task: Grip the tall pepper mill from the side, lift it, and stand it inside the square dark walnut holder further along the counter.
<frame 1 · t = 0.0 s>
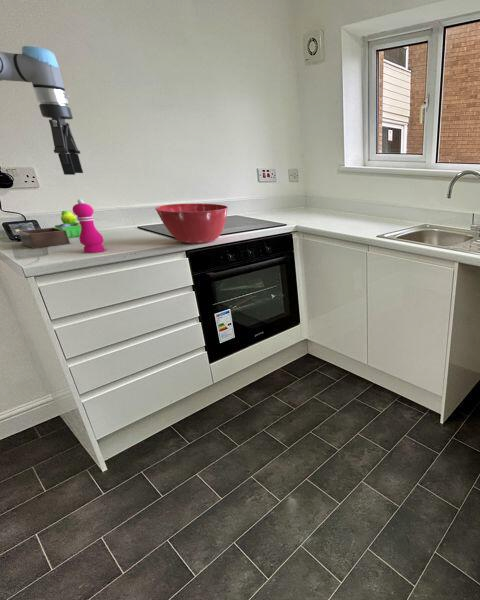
hand: (74, 173, 122), 29 cm above the countertop, tool pointing down, fingers open, 13 cm apart
fruit basket: (75, 235, 164), on the countertop
mixing bowl: (199, 241, 162), on the countertop
holder: (46, 244, 147), on the countertop
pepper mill: (95, 251, 140), on the countertop
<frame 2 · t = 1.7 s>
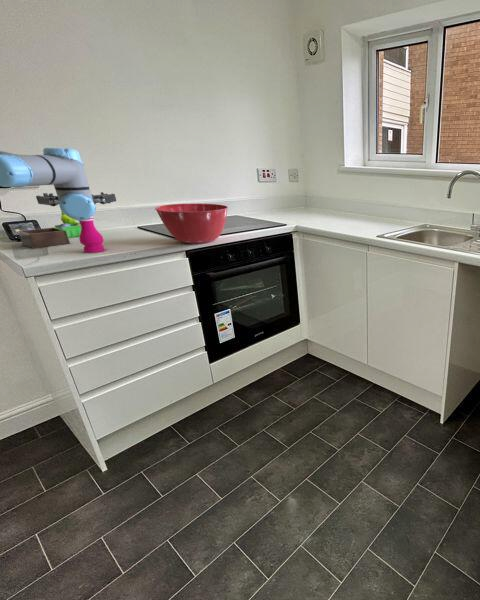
hand: (78, 196, 125), 22 cm above the countertop, tool horizontal, fingers open, 13 cm apart
nothing on the countertop moved.
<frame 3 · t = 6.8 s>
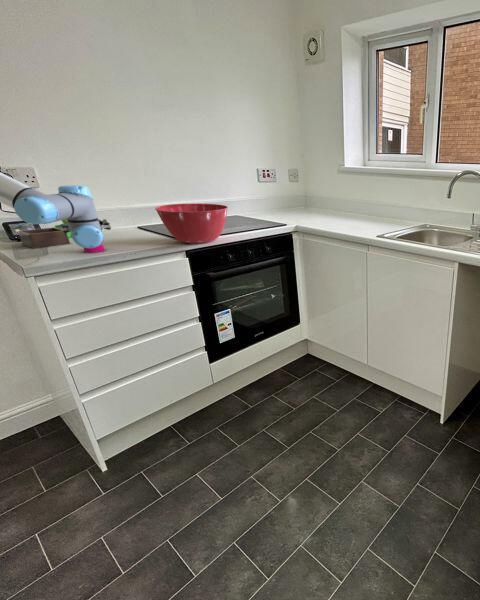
hand: (86, 221, 139), 11 cm above the countertop, tool horizontal, fingers closed on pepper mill, 5 cm apart
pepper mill: (95, 251, 140), on the countertop, touching gripper
everything else where it was.
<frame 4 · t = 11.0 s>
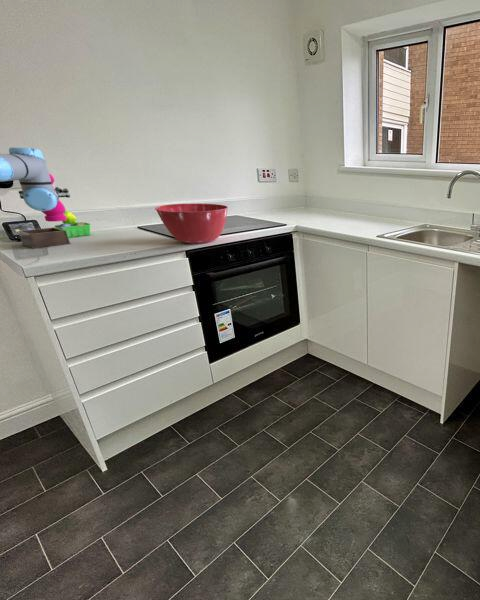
hand: (48, 190, 140), 22 cm above the countertop, tool horizontal, fingers closed on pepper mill, 5 cm apart
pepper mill: (56, 220, 140), point 11 cm above the countertop, touching gripper
everything else where it was.
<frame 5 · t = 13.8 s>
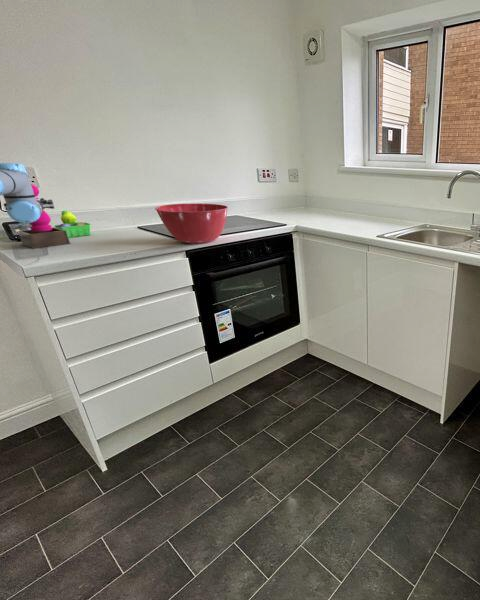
hand: (33, 201, 145), 17 cm above the countertop, tool horizontal, fingers closed on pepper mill, 5 cm apart
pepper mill: (42, 230, 145), point 6 cm above the countertop, touching gripper
everything else where it was.
when the fingers open (12 cm above the countertop, at t = 15.5 s): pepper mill stays where it is, resting on holder.
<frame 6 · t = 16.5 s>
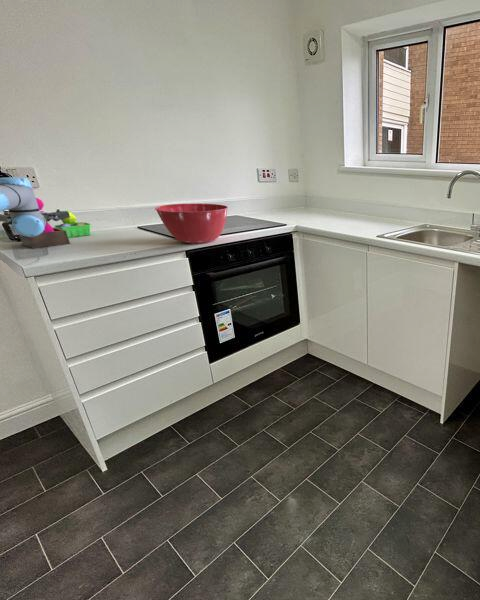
hand: (36, 213, 145), 12 cm above the countertop, tool horizontal, fingers open, 13 cm apart
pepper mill: (46, 243, 147), resting on holder
everything else where it was.
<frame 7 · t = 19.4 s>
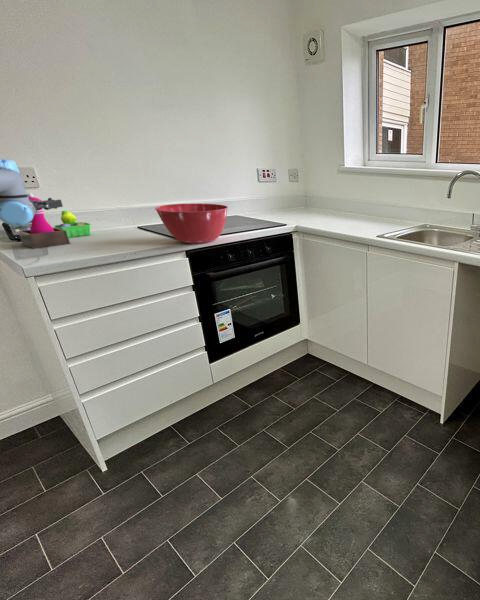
hand: (26, 202, 132), 18 cm above the countertop, tool horizontal, fingers open, 13 cm apart
nothing on the countertop moved.
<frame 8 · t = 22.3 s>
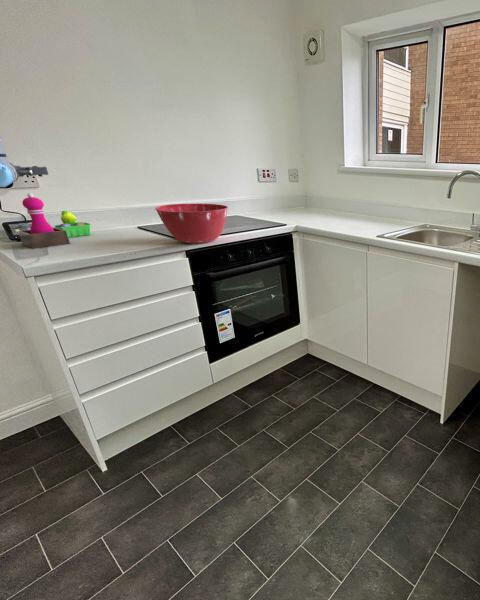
hand: (9, 169, 124), 30 cm above the countertop, tool horizontal, fingers open, 13 cm apart
nothing on the countertop moved.
at the end: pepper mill 0.1 cm off-centre in the holder, point 0.4 cm above the holder's base; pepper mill tilted 0°; the gripper is holding nothing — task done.
